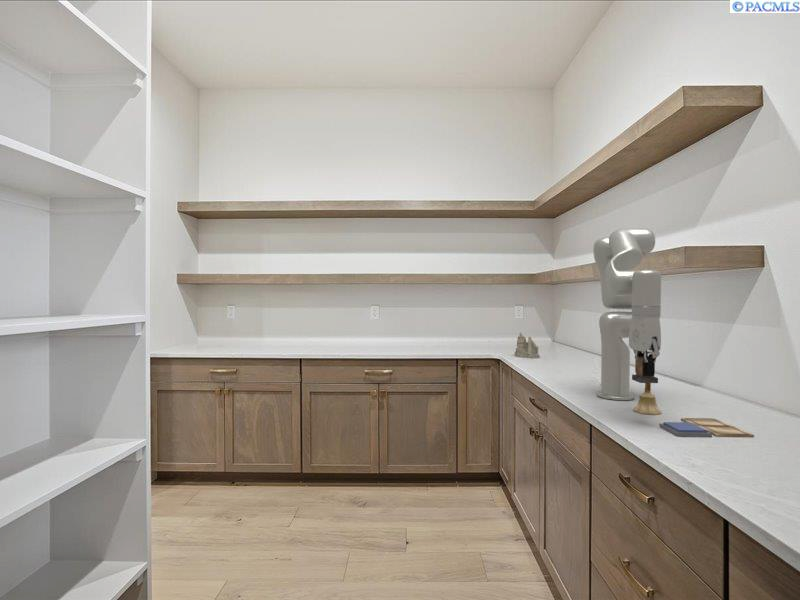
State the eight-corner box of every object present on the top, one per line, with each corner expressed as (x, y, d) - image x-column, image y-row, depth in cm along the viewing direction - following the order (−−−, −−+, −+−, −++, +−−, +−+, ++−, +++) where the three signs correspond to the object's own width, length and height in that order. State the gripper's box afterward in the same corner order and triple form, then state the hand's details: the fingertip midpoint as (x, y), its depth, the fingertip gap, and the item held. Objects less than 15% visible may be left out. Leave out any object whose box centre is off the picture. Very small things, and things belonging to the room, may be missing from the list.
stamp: (632, 379, 138) (632, 356, 138) (648, 379, 138) (649, 356, 138) (640, 383, 133) (641, 358, 133) (657, 383, 133) (658, 359, 133)
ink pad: (659, 426, 132) (659, 421, 132) (691, 427, 132) (691, 421, 132) (677, 436, 123) (677, 430, 123) (711, 437, 123) (711, 431, 123)
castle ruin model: (534, 358, 270) (534, 333, 271) (509, 357, 281) (509, 332, 282) (546, 357, 281) (546, 333, 282) (521, 356, 292) (521, 332, 293)
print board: (680, 420, 139) (680, 417, 139) (714, 420, 139) (714, 418, 139) (716, 436, 123) (716, 434, 123) (754, 437, 123) (754, 434, 123)
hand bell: (652, 408, 153) (652, 360, 153) (667, 415, 145) (668, 364, 145) (627, 408, 153) (628, 360, 153) (641, 415, 145) (642, 364, 145)
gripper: (620, 310, 143) (619, 369, 144) (647, 314, 127) (646, 380, 127) (644, 310, 143) (643, 369, 144) (675, 314, 126) (673, 380, 127)
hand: (644, 373), depth 135 cm, fingers closed on stamp, 3 cm apart
